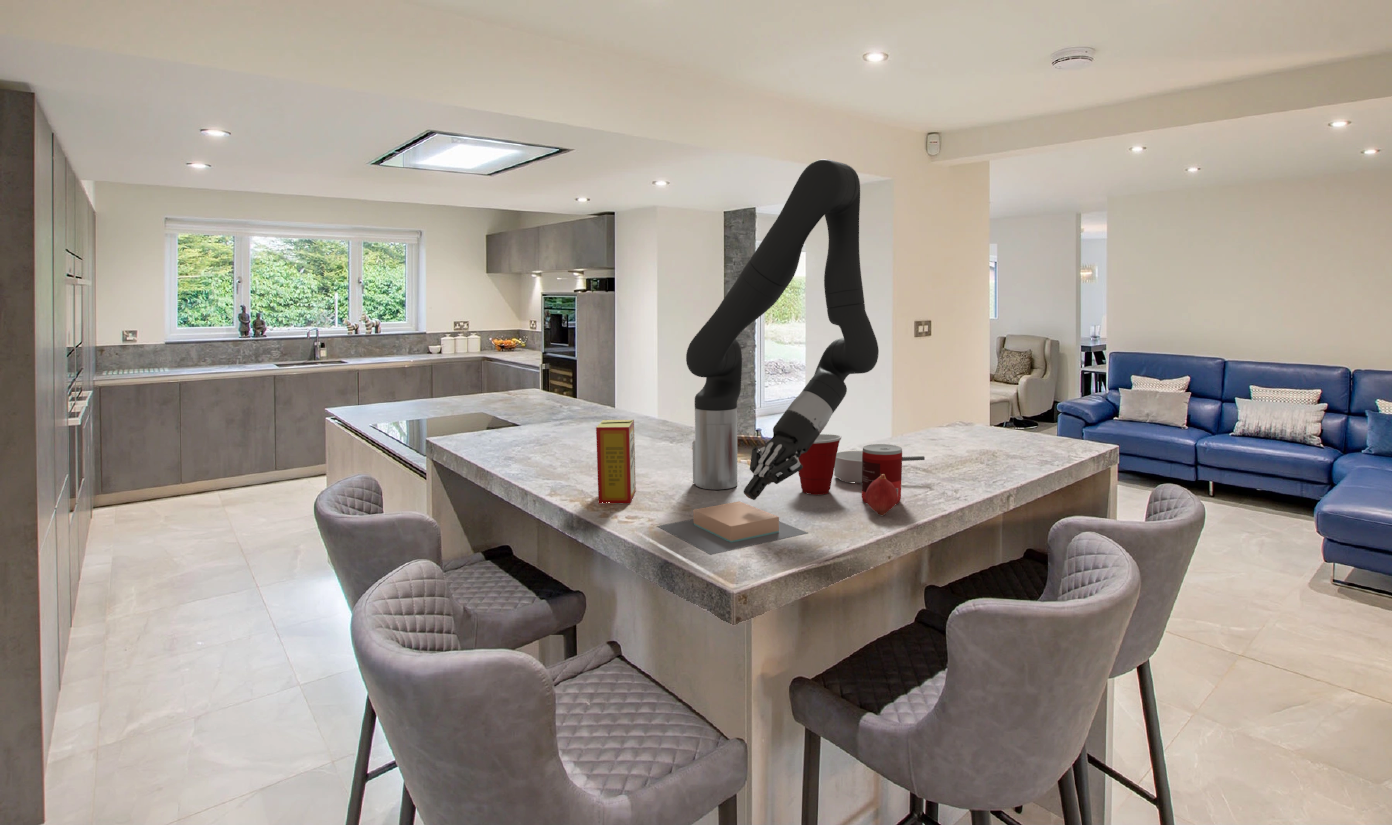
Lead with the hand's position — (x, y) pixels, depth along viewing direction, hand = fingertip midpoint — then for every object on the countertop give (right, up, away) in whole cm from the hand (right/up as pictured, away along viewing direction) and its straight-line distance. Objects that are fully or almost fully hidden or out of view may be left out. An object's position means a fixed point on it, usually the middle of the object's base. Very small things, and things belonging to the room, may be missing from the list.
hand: (748, 496), depth 133 cm
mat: (-3, -6, -1) cm, 7 cm away
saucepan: (+31, -1, +36) cm, 48 cm away
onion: (+25, -5, +8) cm, 27 cm away
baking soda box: (-26, -3, +23) cm, 35 cm away
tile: (+2, -4, +2) cm, 5 cm away
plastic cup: (+16, -2, +26) cm, 30 cm away
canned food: (+28, -3, +18) cm, 33 cm away
